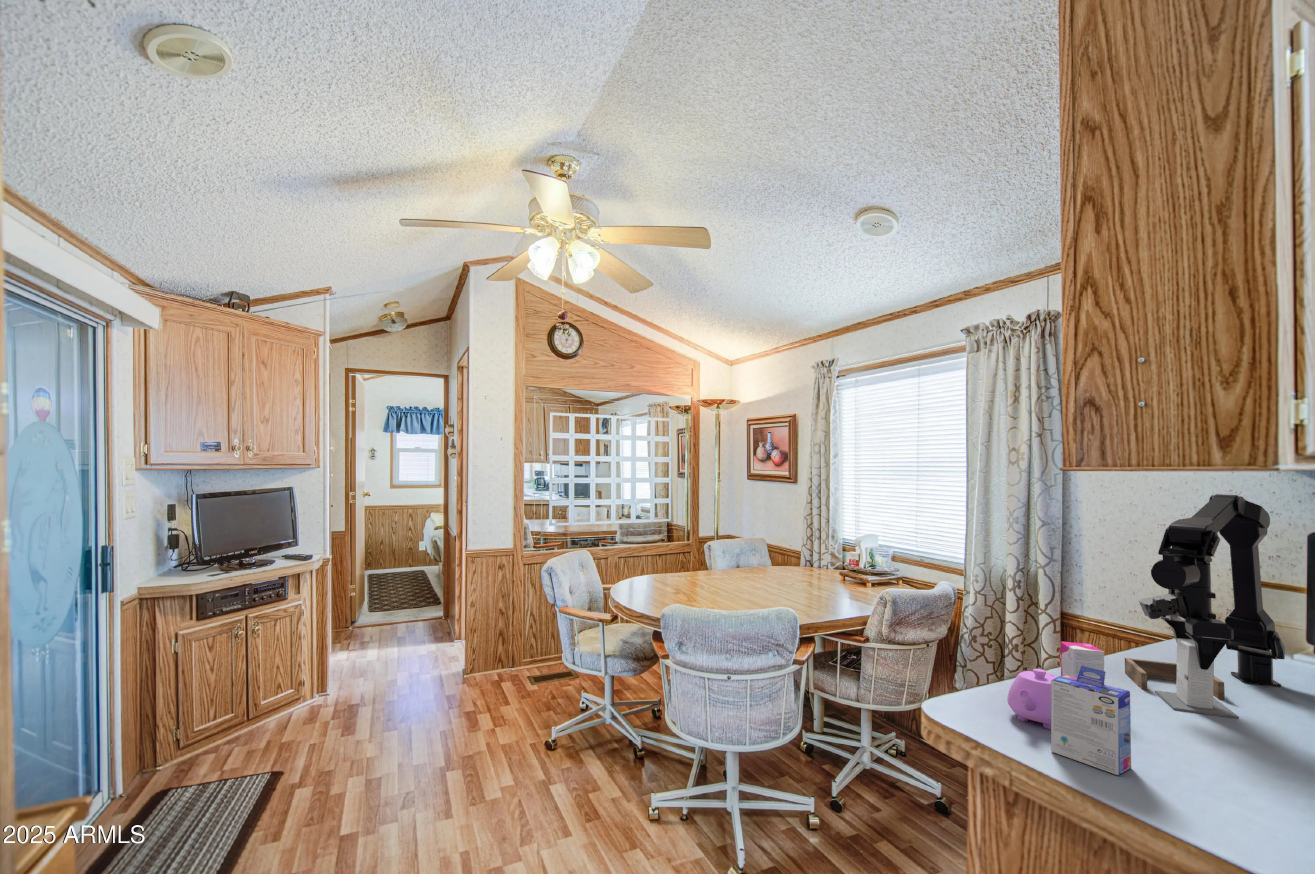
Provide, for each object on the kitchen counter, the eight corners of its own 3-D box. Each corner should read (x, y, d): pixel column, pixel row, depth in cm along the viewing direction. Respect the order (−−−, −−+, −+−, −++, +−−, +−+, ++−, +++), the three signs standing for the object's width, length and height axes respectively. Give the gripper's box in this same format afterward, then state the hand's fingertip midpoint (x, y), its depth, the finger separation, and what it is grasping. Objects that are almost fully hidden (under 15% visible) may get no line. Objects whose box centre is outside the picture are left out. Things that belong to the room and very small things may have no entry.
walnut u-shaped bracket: (1124, 672, 141) (1124, 657, 141) (1201, 682, 136) (1200, 666, 136) (1141, 688, 131) (1141, 672, 131) (1224, 699, 126) (1224, 682, 126)
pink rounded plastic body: (1084, 720, 115) (1083, 670, 115) (1055, 742, 105) (1054, 687, 106) (1023, 702, 123) (1023, 656, 123) (992, 721, 113) (991, 671, 114)
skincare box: (1175, 695, 126) (1174, 636, 127) (1202, 699, 125) (1201, 639, 125) (1187, 706, 121) (1186, 645, 121) (1216, 710, 119) (1215, 647, 119)
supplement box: (1106, 709, 120) (1105, 651, 120) (1072, 707, 121) (1071, 648, 121) (1091, 698, 125) (1090, 642, 126) (1059, 696, 126) (1058, 640, 127)
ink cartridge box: (1133, 767, 97) (1132, 675, 97) (1121, 777, 93) (1119, 682, 94) (1063, 743, 105) (1062, 658, 105) (1050, 752, 101) (1049, 664, 102)
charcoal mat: (1154, 692, 129) (1154, 690, 129) (1214, 699, 125) (1214, 697, 125) (1173, 709, 120) (1173, 707, 120) (1238, 718, 116) (1238, 716, 116)
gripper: (1128, 573, 135) (1129, 644, 135) (1160, 589, 118) (1162, 670, 118) (1191, 578, 131) (1192, 651, 131) (1234, 595, 114) (1236, 679, 113)
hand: (1193, 662), depth 123 cm, fingers open, 9 cm apart
